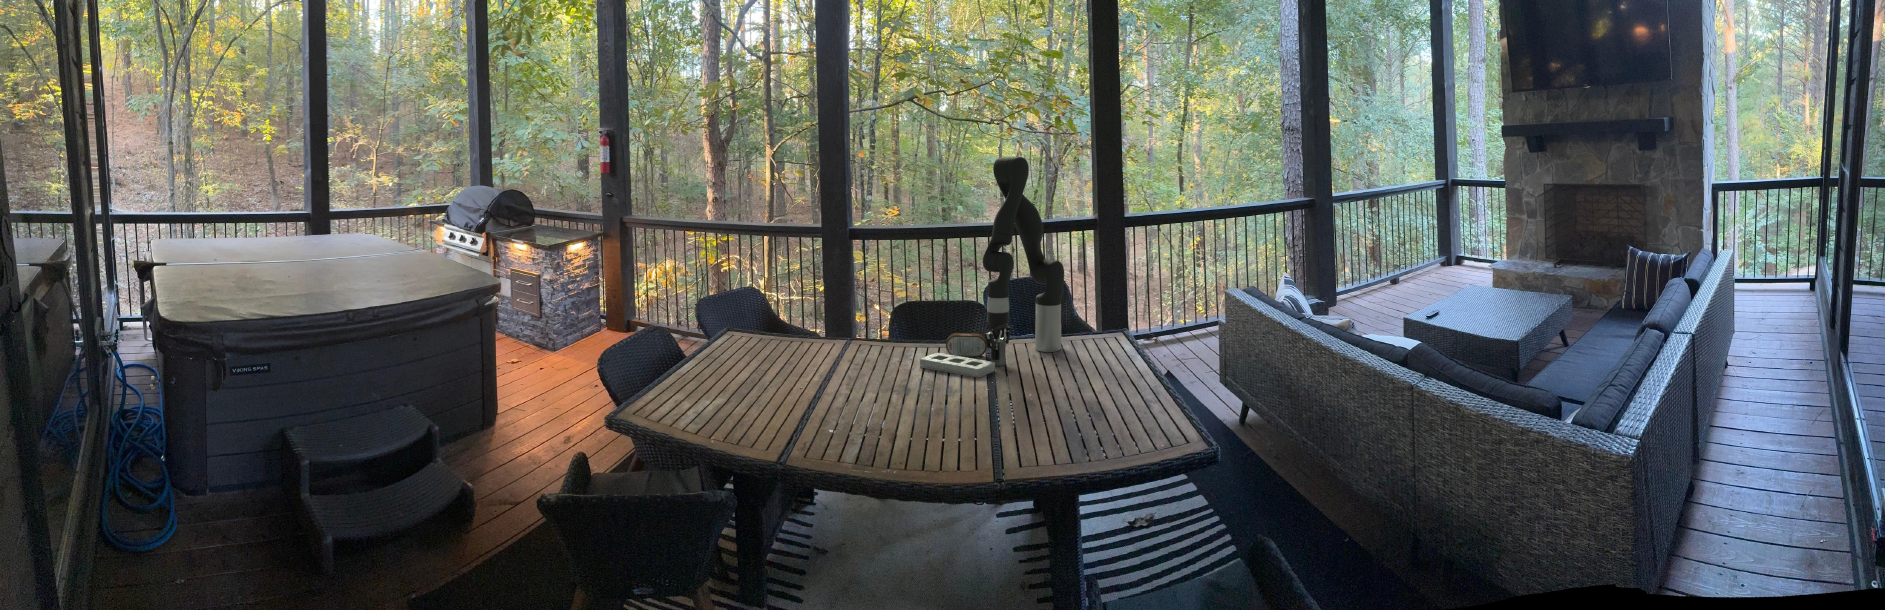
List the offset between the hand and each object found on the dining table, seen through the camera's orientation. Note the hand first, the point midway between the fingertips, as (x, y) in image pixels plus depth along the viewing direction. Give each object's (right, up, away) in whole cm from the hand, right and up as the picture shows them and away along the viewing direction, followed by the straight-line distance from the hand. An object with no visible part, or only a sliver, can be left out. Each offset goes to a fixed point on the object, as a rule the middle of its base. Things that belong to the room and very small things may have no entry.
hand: (998, 358), depth 312 cm
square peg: (0, -2, 0) cm, 2 cm away
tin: (-11, 0, +13) cm, 16 cm away
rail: (-14, -3, -4) cm, 15 cm away
